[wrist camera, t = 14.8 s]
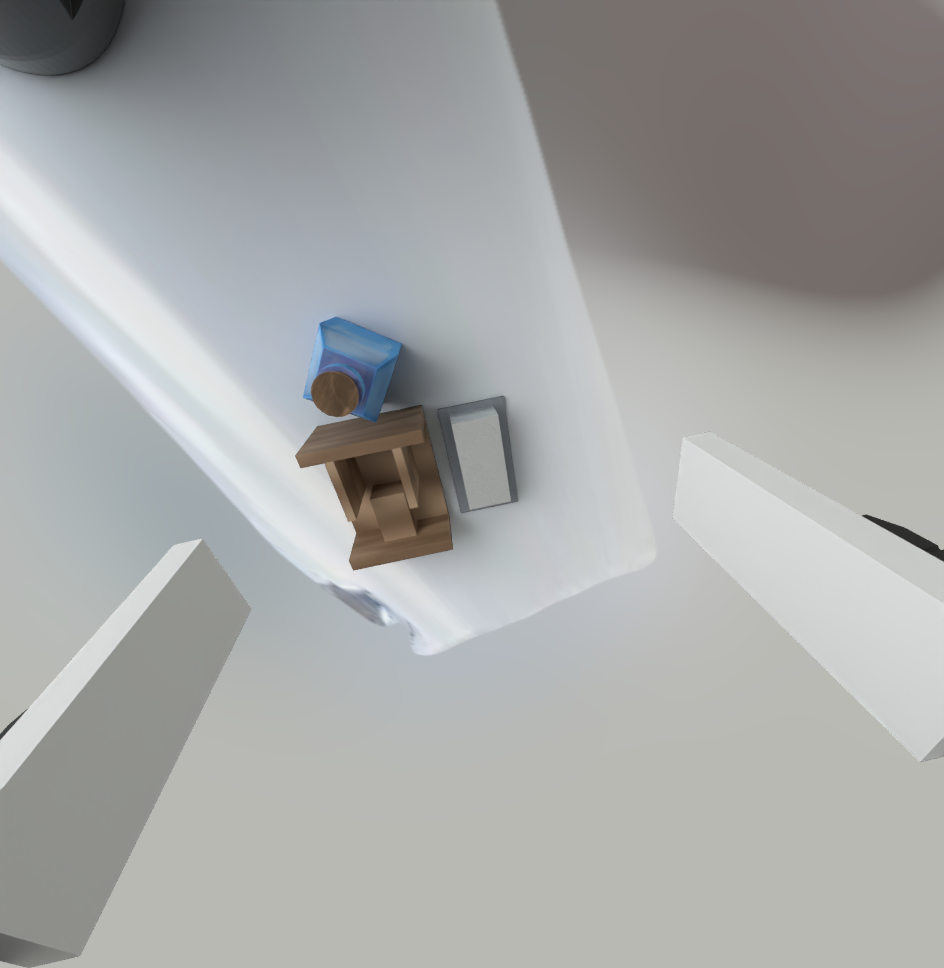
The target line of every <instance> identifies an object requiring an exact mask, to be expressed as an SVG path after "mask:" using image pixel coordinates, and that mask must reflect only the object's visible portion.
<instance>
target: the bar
mask: <svg viewBox="0 0 944 968" xmlns="http://www.w3.org/2000/svg"><path fill="white" fill-rule="evenodd" d="M449 414H450V420H451V425H452V430H453V434H454V439H455V444H456V448H457V453H458V457H459V462H460V467H461V471H462V476H463V481H464V485H465V490H466V494H467V499H468V504H469V508H470V510H472V509H477V508H482V507H486V506H491V505H496V504H501V503H505V502H510V501H511V498H510V491H509V484H508V478H507V471H506V464H505V458H504V451H503V444H502V438H501V431H500V424H499V418H498V414H497V412H496V410H495V408H494V406H493V405H487V406H482V407H477V408H473V409H468V410H463V411H458V412H453V413H449Z"/></svg>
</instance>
